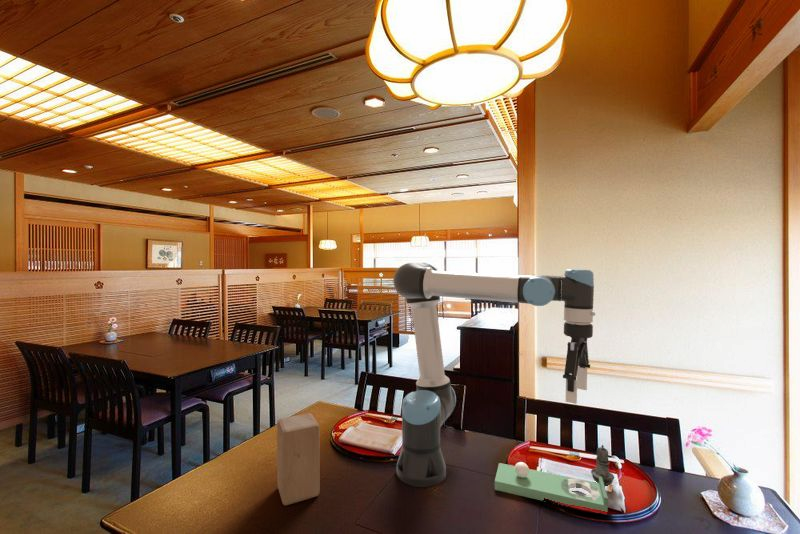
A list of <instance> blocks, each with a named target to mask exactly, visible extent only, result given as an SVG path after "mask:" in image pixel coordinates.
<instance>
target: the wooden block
mask: <svg viewBox="0 0 800 534" xmlns="http://www.w3.org/2000/svg"><path fill="white" fill-rule="evenodd" d="M276 425H277V426H276V427H277V429H276V435H277V437H276V439H277V440H276V441H277V443H276V448H277V450H276V452H277V458H276V459H277V462H276V463H277V469H276V472H277V476H276V477H277V479H276V480H277V481H276V482H277V483H276V484H277V489H278V492H279V496H280V499H281V503H282V505H283V506H288V505H292V504H297V503H299V502H302V501H305V500H309V499H312V498H315V497H318V496H319V494H320V486H321V485H320V477H321V475H320V464H321V463H320V425H319V423H318V421H317V420H316V418H315V417H314V415H313V414H312V413H310V412H309V413H303V414H297V415H292V416H288V417H287V416H286V417H281V418H279V419H277V422H276Z"/></svg>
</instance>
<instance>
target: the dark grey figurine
mask: <svg viewBox="0 0 800 534" xmlns="http://www.w3.org/2000/svg"><path fill="white" fill-rule="evenodd" d="M594 460H595V461H596V466H595V468H592V469H591V470H590V473H591V476H592V478H593V481H596V482H597V483H599V476H601V477H602V478H603V482H604V486H608V485H612V484H613V482H614V479H615V475H614V474H613V473H612V472H610V470H609V468H610V467H609V465H610V463H611V462H610V461H609V450H608V449H607V448H605V446H604V445H603V444H601V446H599V447H597V448H596V457H595V459H594Z"/></svg>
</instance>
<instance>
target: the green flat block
mask: <svg viewBox="0 0 800 534" xmlns="http://www.w3.org/2000/svg"><path fill="white" fill-rule="evenodd" d="M575 487H576V488H582V489H584V490H586V491H588V492H589V493H590V495H584V494H583V495H582V494H579V493H577V492H572V491H571V490H570V488H575ZM494 491H500V492H502V493H507V494H513V495H516V496H520V497H525V498H529V499H534V500H538V501H542V502H544V501H543V500H544V498H545V499H549V500H552V501H555V502H560V503H564V504H568V505H575V506H580V507H586V508H590V509H596V510H601V511H605V512H608V511H609V509H608V508H609V507H608V505H609V502H608V500H609V497H608V494H607V492H606V490H605V486H604V482H603V478H602V477H601V476H599V483H596V482H593V481H591V480H586V479H582V478H581V479H580V478H575V477H570V476H565V475H560V474H557V473H553V472H547V471H541V470H537V469H530V468H529V474H528V476H527V477H525V478H521V477H519V476H518V475H517V474H516V473H515V465H511V464H505V463H500V462H498V466H497V471H496V474H495V478H494ZM608 513H609V512H608Z"/></svg>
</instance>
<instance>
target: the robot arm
mask: <svg viewBox="0 0 800 534" xmlns="http://www.w3.org/2000/svg"><path fill="white" fill-rule="evenodd" d="M594 279H595V278H594V272H593V271H592V270H590V269H577V268H576V269H573V268H572V269H571V268H569V269H566V270H565V271H564V275H548V274H547V275H546V274H545V275H544V274H542V275H541V274H525V275H515V274H514V275H513V274H500V273H499V274H496V273H494V274H493V273H483V272H482V273H480V272H479V273H477V272H462V271H459V272H458V271H441V270H439V269H438V268H437V267H435V266H434V265H432V264H429V263H426V262H416V263H415V262H408V263H405V264H402V265H401V266H399V268H397V270H395V272H394V275H393V281H392V282H393V286H394V288H395V289H394V290H395V291H396V293H397V294H399V295H400V296H401V297H403V298H405V300H406V305H408V306H409V307H410V308H411V314H412V315H411V316H412V322H413V323H412V324H413V329H414V338H415V345H416V354H417V355H416V356H417V357H416V358H417V363H418V371H419V372H418V373H419V377H418V379H417V381H416V382H415V385H416V390H415V391H411V392H409V393H407V394H406V395H405V397H404V398H403V400H402V407H401V429H402V430H401V434H402V435H401V441H402V443H401V444H402V445H401V449H400V453H399V456H398V459H397V462H396V476H397V478H398V479H399V480H400V481H401V482H402V483H404V484H406V485H408V486H411V487H414V488H415V487H416V488H429V487H434V486H436V485H439V484H440V483H442V482H444V480H445V479H446V477H447V466H446V465H447V464H446V462H445V459H444V456H443V453H442V450H441V427H442V426H443V424H445V422H446V421H447V420H448V418H449V417H450V416H451V415H452V414H453V412H454V409H455V407H456V403H457V396H456V391H455V389H454V388H453V387H452V386H451V380H450V378H449V376H447V375H446V373H445V366H444V358H443V350H442V341H441V340H442V339H441V335H440V334H441V333H440V327H439V326H440V324H439V315H438V310H437V309H438V308H437V305H438V303H439V302H440V301H441V297H444V298H454V299H455V298H456V299H457V298H458V299H466V300H467V299H470V300H481V301H491V302H492V301H493V302H496V301H497V302H504V303H505V302H507V303H518V304H519V303H520V304H528V305H529V304H530V305H532V306H535V307H543V306H546V305H548V304H549V303H551V302H554V301H555V302H564V305H563V307H564V309H563V320H564V321H565V322H563V335H565V336H566V337H570V338H571V339H570V341H568V342H567V351H566V359H565V365H564V366H565V367H564V372H563V374H562V378H563V379H565V402H566V403H571V404H575V405H576V404H577V403H578V399H577V398H578V390H583V391H587V390H588V389H587V388H588V369H591V364H589V363H590V361H589V353H588V352H589V350H588V339H590V338H592V337H593V332H594V331H593V330H594V325H593V324H592V323H593V322H594V320H593V319H594V316H596V313H595V312H594V295H595V293H594V292H595V290H594V288H595V284H594Z"/></svg>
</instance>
